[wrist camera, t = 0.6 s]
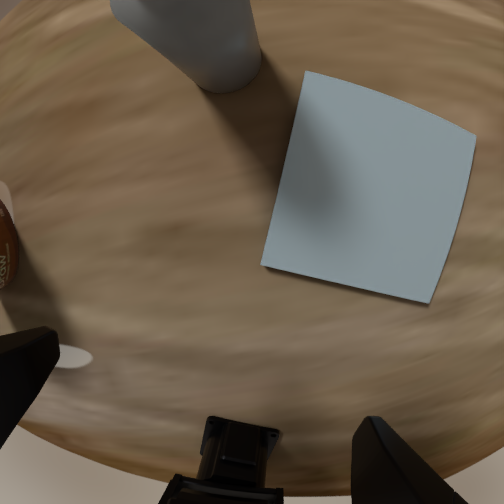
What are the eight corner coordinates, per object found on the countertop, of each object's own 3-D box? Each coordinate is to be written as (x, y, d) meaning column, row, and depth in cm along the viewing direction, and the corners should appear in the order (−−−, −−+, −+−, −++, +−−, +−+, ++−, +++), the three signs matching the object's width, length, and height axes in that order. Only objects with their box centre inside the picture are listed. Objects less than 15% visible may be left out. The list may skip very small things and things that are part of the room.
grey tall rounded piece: (252, 98, 17) (204, 2, 5) (180, 88, 17) (60, 16, 5) (268, 34, 15) (248, -99, 4) (198, 27, 15) (113, -83, 4)
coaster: (424, 298, 19) (428, 303, 18) (261, 260, 19) (260, 264, 19) (470, 136, 16) (476, 135, 15) (304, 74, 16) (305, 70, 15)
